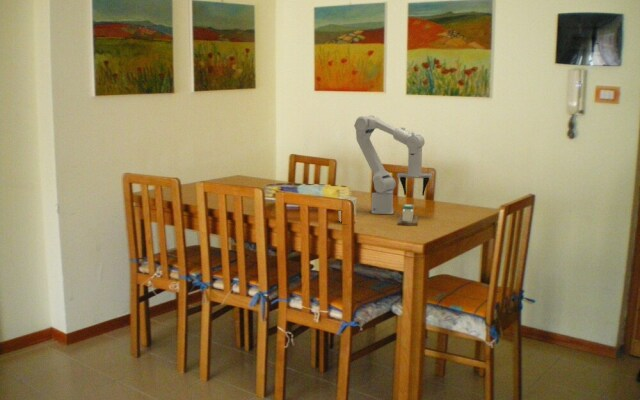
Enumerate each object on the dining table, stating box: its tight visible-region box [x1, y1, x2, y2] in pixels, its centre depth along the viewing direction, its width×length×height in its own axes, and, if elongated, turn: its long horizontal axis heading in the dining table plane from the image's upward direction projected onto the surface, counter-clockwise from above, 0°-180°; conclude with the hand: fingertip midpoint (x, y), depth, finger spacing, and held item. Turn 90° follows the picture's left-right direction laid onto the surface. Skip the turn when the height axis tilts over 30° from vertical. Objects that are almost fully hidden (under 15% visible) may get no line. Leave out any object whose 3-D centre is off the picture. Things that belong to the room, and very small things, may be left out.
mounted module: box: [402, 209, 414, 221], centre depth 282 cm, size 4×4×4 cm
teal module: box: [402, 203, 414, 209], centre depth 287 cm, size 4×4×5 cm
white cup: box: [337, 196, 358, 223], centre depth 286 cm, size 8×8×10 cm
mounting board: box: [396, 214, 419, 227], centre depth 288 cm, size 8×16×2 cm, turn 171°
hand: (414, 194), depth 297 cm, fingers open, 7 cm apart
